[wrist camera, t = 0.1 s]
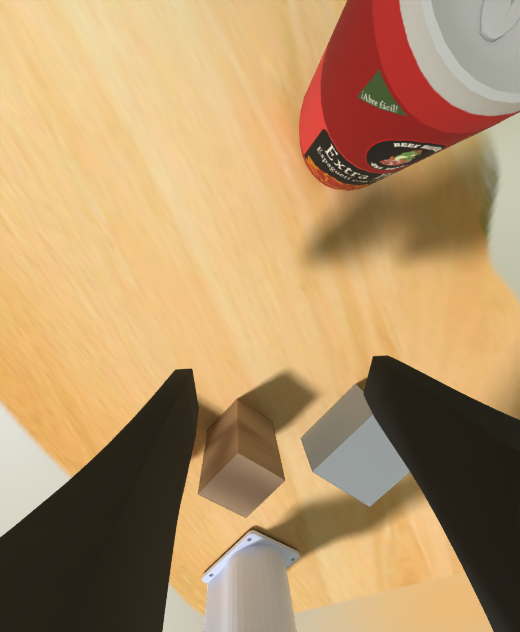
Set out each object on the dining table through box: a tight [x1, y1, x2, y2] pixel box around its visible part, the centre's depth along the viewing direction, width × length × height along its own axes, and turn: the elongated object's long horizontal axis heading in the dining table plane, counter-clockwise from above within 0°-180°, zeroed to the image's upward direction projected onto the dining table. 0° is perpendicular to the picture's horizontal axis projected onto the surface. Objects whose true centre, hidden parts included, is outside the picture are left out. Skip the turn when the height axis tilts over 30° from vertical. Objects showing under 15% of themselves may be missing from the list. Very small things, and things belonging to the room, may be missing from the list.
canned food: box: [299, 0, 520, 191], centre depth 11 cm, size 8×8×11 cm
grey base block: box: [301, 384, 410, 507], centre depth 22 cm, size 8×8×4 cm
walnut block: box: [198, 399, 285, 518], centre depth 19 cm, size 4×4×6 cm
